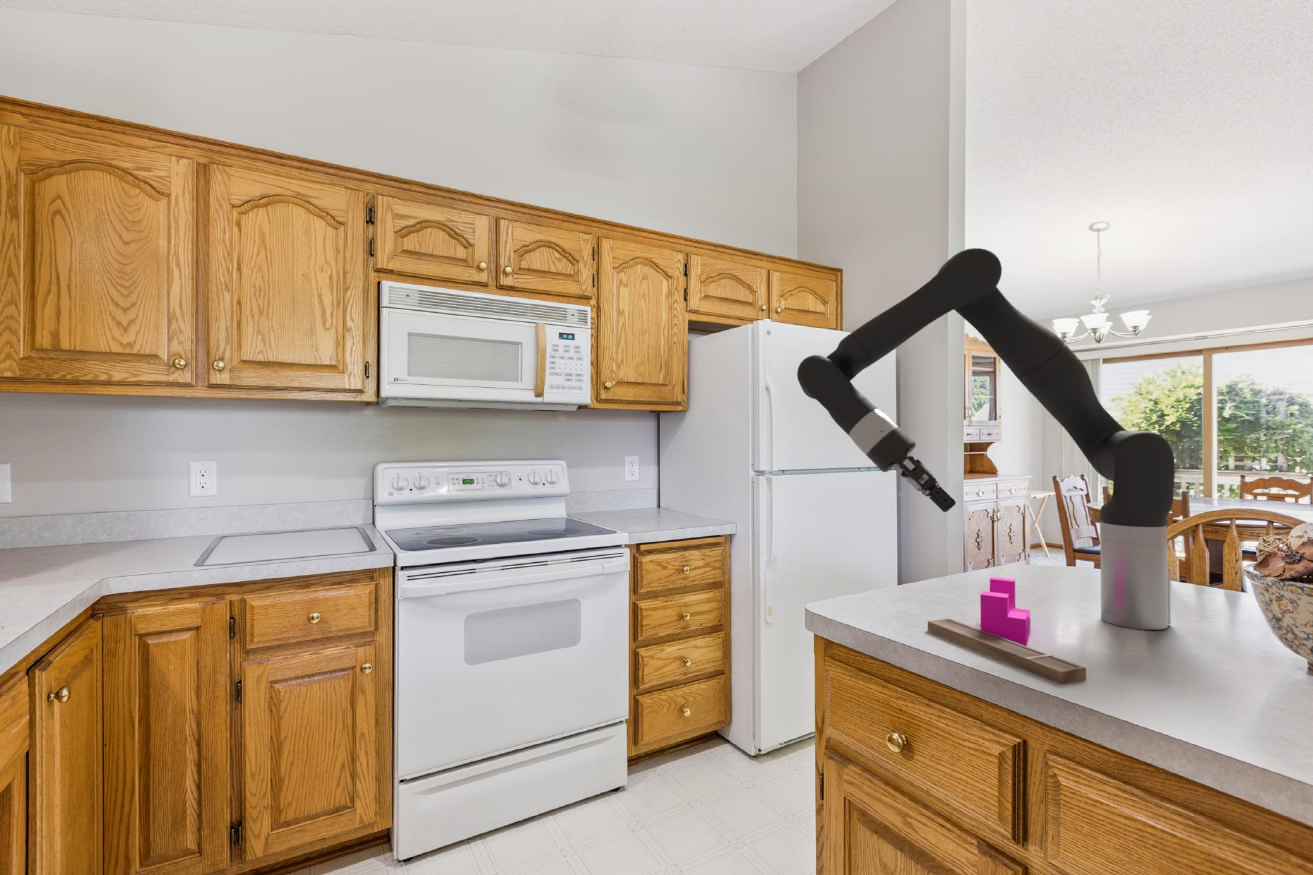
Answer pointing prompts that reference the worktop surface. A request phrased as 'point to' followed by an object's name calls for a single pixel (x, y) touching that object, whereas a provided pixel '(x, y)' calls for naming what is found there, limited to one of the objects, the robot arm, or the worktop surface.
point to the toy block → (1004, 612)
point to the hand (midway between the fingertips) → (950, 508)
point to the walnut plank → (1009, 651)
